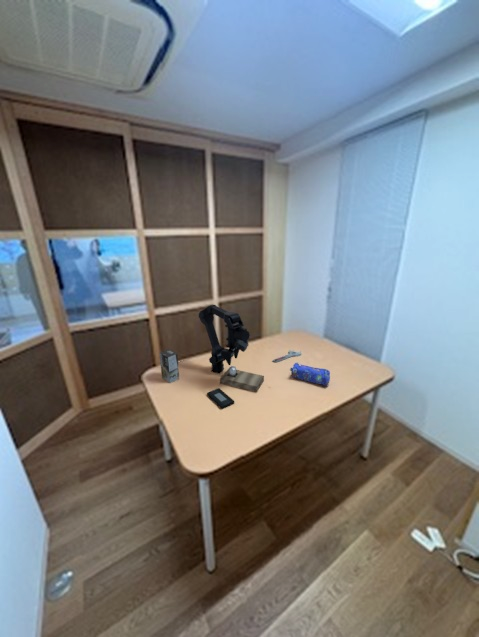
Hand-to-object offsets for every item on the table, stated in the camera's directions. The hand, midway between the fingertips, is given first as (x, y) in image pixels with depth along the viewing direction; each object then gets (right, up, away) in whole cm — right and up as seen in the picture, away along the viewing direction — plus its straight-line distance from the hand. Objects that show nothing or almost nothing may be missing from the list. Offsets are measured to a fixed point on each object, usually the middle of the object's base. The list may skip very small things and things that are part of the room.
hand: (232, 361), depth 146 cm
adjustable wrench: (+37, -3, +33) cm, 50 cm away
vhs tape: (-6, -18, -14) cm, 23 cm away
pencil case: (+45, -12, +5) cm, 46 cm away
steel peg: (0, -11, +4) cm, 12 cm away
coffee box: (-37, -11, +5) cm, 38 cm away
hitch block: (+4, -12, +2) cm, 13 cm away
